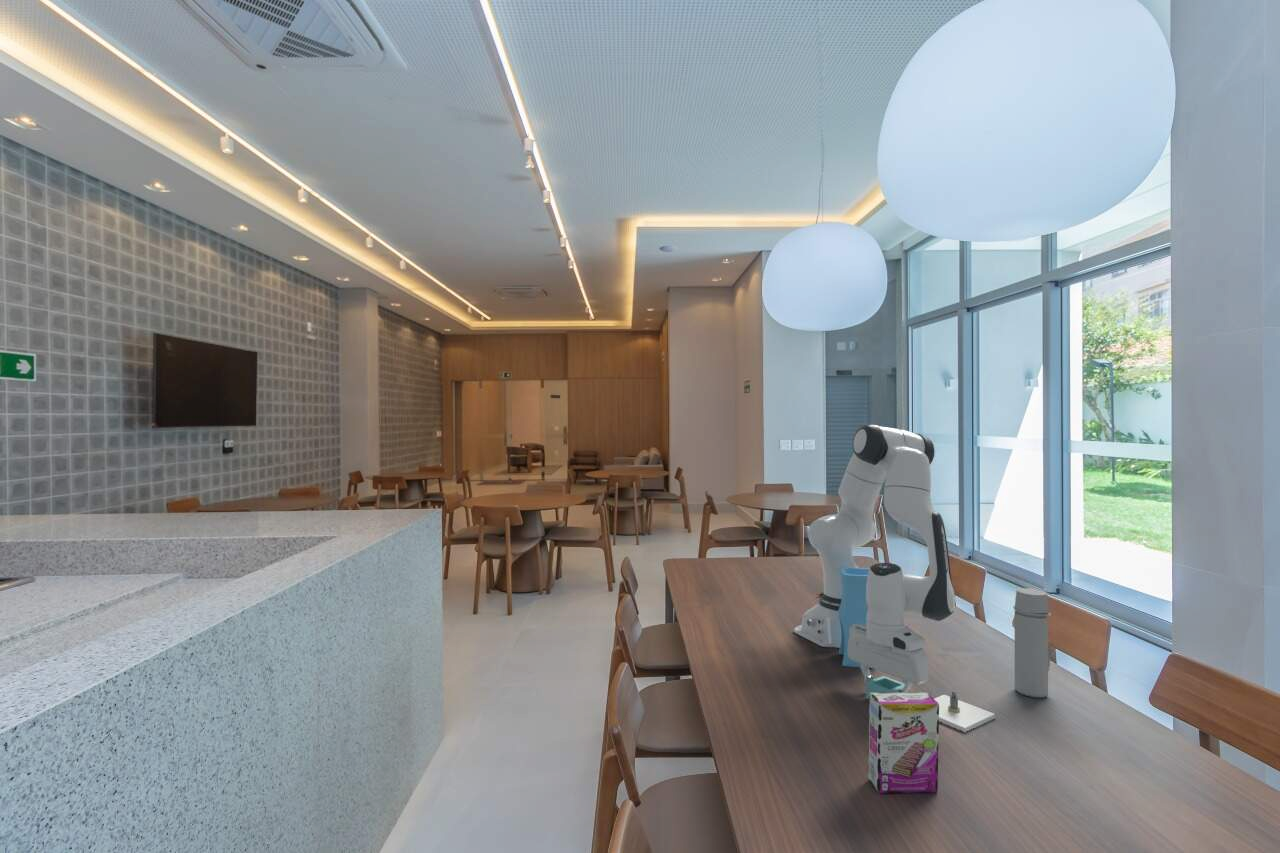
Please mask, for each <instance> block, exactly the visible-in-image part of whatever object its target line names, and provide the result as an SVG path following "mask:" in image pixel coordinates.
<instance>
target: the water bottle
mask: <svg viewBox="0 0 1280 853" xmlns="http://www.w3.org/2000/svg"><path fill="white" fill-rule="evenodd" d="M1048 599H1049V598H1048V593H1047V592H1046V591H1044V590H1039V589H1036V588H1027V587H1024V588H1023V587H1022V588H1017V589H1016V592H1015V599H1014V600H1015V602H1014V603H1015V604H1014V606H1013V609H1014V689H1015V691H1017V692H1018V693H1019V694H1021V695H1023V696H1026V697H1029V698H1034V699H1036V698H1039V699H1040V698H1045V697H1047V696H1048V695H1049V672H1050V666H1051V656H1050V646H1049V617H1051V616H1052V614H1051V613H1050V607H1049V600H1048Z"/></svg>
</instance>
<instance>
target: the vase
mask: <svg viewBox="0 0 1280 853" xmlns="http://www.w3.org/2000/svg"><path fill="white" fill-rule="evenodd" d="M869 568H870V567H868V568H867V567H859V568H849V567H842V568H839V569H840V575H841V580H842V590H843V593H842V600H841V604H840V607H839V610H838V615H839V620H840V625H841V644H840V648H838V655H842V657H843V658H842V664H841V665H842V667H851V668H852V667H854V668H860V663H857V662H855V661H852V660H850V659H849V657H848V642H849V637H850V627H851V625H853V624H855V623H857V624H860V625H863V626H866V616H867V612H868V606H867V602H866V586H867V577H868V572H869ZM869 669H872V668H871V667H869Z"/></svg>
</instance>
